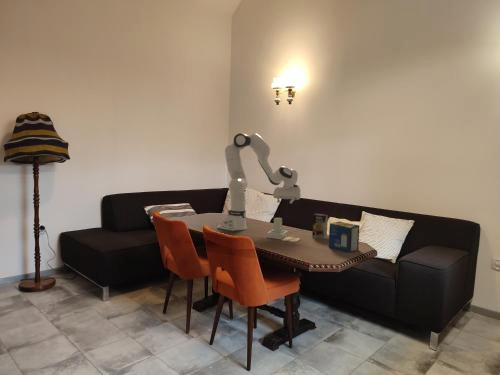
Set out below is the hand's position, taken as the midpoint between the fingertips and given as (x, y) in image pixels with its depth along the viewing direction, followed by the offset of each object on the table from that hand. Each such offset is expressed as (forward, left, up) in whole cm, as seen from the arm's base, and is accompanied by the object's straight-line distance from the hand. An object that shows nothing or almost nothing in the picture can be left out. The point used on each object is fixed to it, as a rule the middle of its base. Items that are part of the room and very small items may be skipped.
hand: (284, 202), depth 263 cm
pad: (+11, -17, -23) cm, 31 cm away
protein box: (+46, -21, -23) cm, 56 cm away
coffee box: (+26, +2, -23) cm, 35 cm away
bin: (0, -12, -23) cm, 26 cm away
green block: (0, -12, -23) cm, 26 cm away
